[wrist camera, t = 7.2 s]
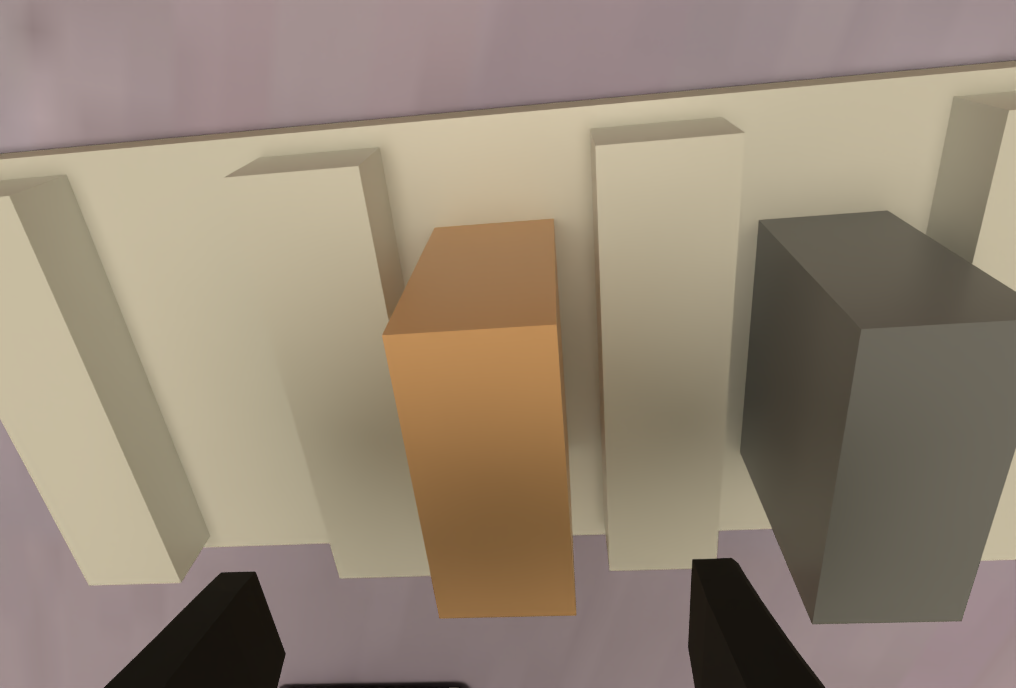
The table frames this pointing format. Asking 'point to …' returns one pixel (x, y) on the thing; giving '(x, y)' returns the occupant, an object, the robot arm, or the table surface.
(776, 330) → the seated plug
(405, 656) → the table surface
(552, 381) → the orange plug
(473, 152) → the comb rack
